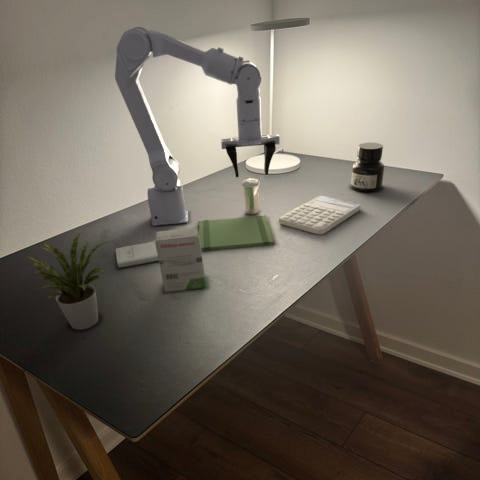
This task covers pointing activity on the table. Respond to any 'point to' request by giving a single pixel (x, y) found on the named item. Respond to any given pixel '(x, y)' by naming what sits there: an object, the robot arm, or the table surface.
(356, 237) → the table surface
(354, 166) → the ink bottle
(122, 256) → the hard drive
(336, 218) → the calculator
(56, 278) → the house plant
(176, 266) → the ink box
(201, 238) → the towel
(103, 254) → the table surface
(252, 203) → the milkshake
